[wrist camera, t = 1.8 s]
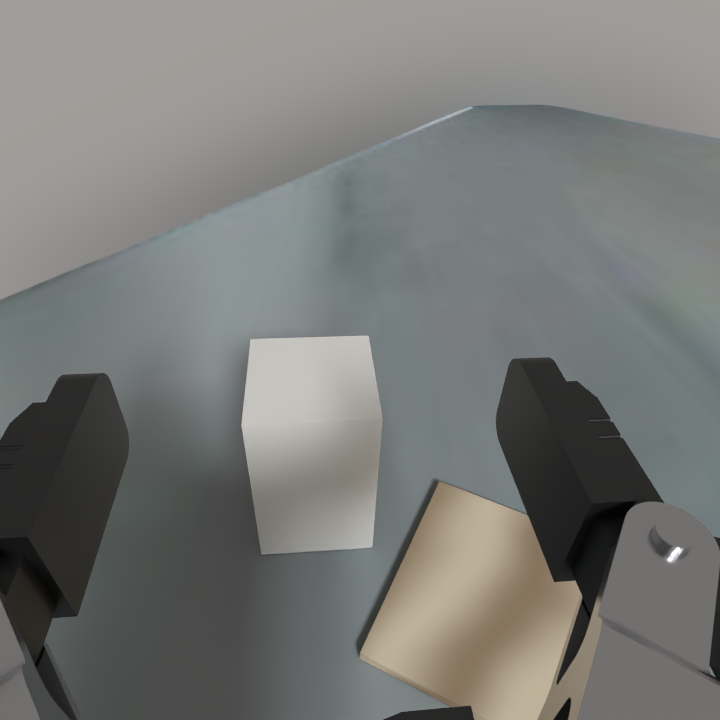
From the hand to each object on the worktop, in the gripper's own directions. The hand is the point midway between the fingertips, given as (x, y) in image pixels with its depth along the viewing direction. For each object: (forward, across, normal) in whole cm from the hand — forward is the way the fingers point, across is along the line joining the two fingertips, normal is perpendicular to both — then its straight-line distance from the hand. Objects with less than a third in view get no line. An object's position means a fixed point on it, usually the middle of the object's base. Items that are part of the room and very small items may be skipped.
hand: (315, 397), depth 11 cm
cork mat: (+4, -9, +19) cm, 22 cm away
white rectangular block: (+11, 0, +19) cm, 22 cm away
